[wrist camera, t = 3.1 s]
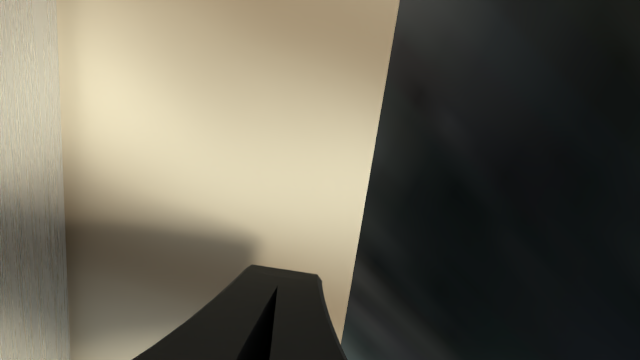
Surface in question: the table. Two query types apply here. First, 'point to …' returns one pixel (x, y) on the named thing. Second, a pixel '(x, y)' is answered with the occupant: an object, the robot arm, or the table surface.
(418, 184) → the table surface
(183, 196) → the wooden cutting board
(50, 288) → the clear plastic container
